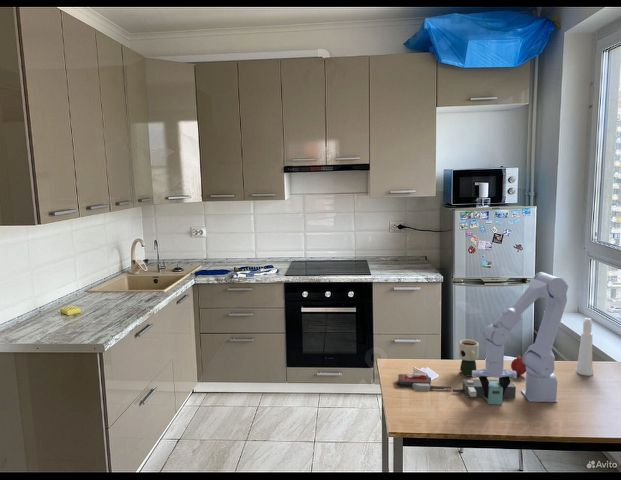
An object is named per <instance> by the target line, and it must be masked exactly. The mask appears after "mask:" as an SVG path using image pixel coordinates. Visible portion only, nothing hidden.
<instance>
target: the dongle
mask: <svg viewBox="0 0 621 480" xmlns="http://www.w3.org/2000/svg"><path fill="white" fill-rule="evenodd" d="M468 393H469V395H470V397H469V398H477V397H476V390H475V388H474V387H468Z"/></svg>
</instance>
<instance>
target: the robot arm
mask: <svg viewBox="0 0 621 480" xmlns="http://www.w3.org/2000/svg"><path fill="white" fill-rule="evenodd" d="M568 290H569V285H568V283H567V282H566V281H565V280H564V278H562V277H558V276H554V275H552V274H549V273H546V272H545V271H540V272H537V273H536V274H535V275H534V276H533V278H532V279H531V280H530V281H529V284H528V287H527V288H526V290H525V291H524V292H523V293H522V295H521V296H520V297H519V298H518V299H517V301H515V303H514V305H513V306H512V307H508V308H506V309H504V310H503V311H501V314H499V315H500V316H499V317H498V318H496V319H495V321H493V322H492V323H491V324H488V325H487V326H486V327H485V328H484V331H482V334H483V338H485V343H486V344H485V368H482V369H477V370H472V375H471V377H472V378H473V379H477V378H478V380H480V382H481V384H482V387H483V392H484V396H485V397H484V398H488V385H489V381H488V380H489V379H488V378H495V379H498V380H499V383H500V385H501V386H502V387H503V396H504V393H505V390H506V388H507V387H508V385H509V384H510V382H511V381H512V380H511V379H510V378H513V379H517V378H518V377H517V376H518V375H517V373H516V372H515V371H513V370H512V369H504V359H505V355H504V354H505V344H506V343H507V342H508V340H509V338H510V337H509V336H510V334H511V332H512V331H513V330H514V328H515V327H516V326H517V325H518V324H519V323H520V321H521V320H522V314H523V313H524V312H525V311H526V310H527V309H528V308H529V307H530V306H532V304H533V303H535V302H536V301H537V300H538V299H546V301H547V303H546V307H545V310H544V313H543V316H542V318H541V319H542V320H541V322H540V324H539V328H538V331H537V334H536V337H535V341H534V343H533V344H531V345H529V346H528V347H527V349H526V351H525V352H524V353H523V356H522V360H523V363H524V365H526V372H525V374H526V375H525V389H521V390H520V392H521V393H522V394H523V395H524V397H525V398H526V399H527V400H528V402H529V403H530V402H536V403H537V402H538V403H540V402H541V403H542V402H543V403H557V402H558V400H557V394H558V380H557V376H556V374H555V373H554V371H555V360H556V357H555V354H554V352H553V350H552V349H553V346H554V342H555V340H556V336H557V334H558V330H559V328H560V324H561V321H562V318H563V314H564V312H565V309H566V305H567V301H568V298H567V297H568V296H567V293H568Z"/></svg>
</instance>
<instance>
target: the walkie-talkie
mask: <svg viewBox="0 0 621 480" xmlns="http://www.w3.org/2000/svg"><path fill="white" fill-rule="evenodd" d="M397 379H398V382H396V386H398V387H399V388H410V389H411V388H412V389H414V390H416V391H422V392H424V391H427V392H430V391H431V390H444V389H447V390H448V389H452V386H445V385H444V386H443V385H432V377H431V376H430V377H429V374H426V373H425V372H413V373H412V374H409V373H405V374H404V373H400V374H398V378H397ZM452 390H453V389H452Z"/></svg>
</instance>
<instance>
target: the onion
mask: <svg viewBox="0 0 621 480" xmlns="http://www.w3.org/2000/svg"><path fill="white" fill-rule="evenodd" d="M522 359H523V357H521V356H520V355H518V356H517V357H516V358H514V359H512V361H511V364H510V368H511V371H515V372H516V373H517V376H520V377H521V376H522V375H524V374H526V365H524V363H523V360H522Z"/></svg>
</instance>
